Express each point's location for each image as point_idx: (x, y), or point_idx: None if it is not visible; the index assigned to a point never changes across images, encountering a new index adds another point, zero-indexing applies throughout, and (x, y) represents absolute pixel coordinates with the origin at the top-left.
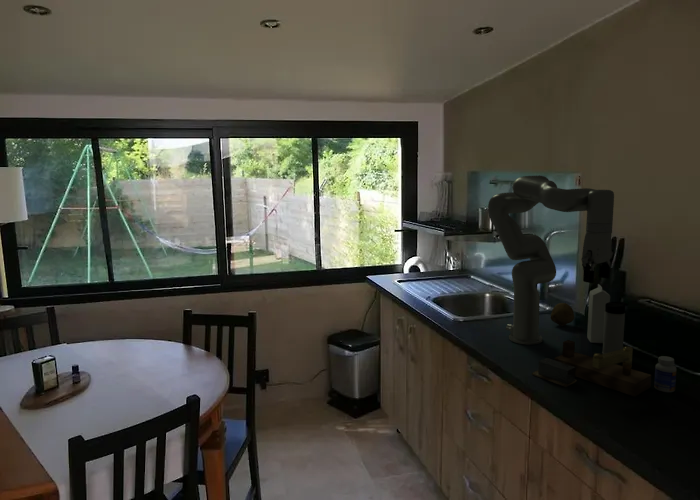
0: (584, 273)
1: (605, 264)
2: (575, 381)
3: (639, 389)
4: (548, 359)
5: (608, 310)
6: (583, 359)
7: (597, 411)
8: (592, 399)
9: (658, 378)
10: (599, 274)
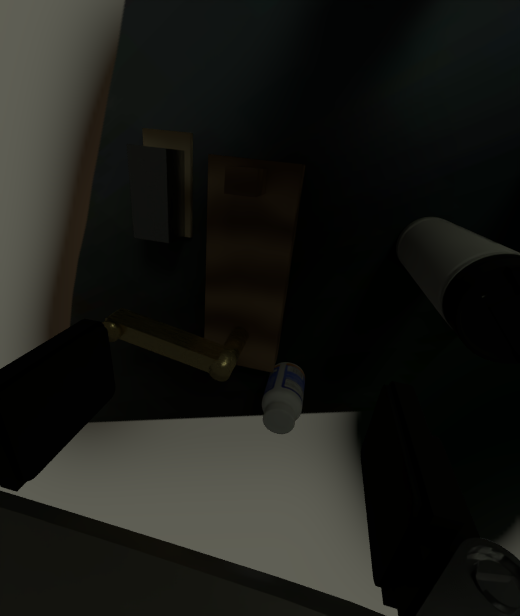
0: (17, 370)
1: (411, 611)
2: (187, 236)
3: None
4: (158, 160)
5: (457, 284)
6: (257, 226)
7: (114, 311)
8: (145, 291)
9: (267, 383)
10: (388, 402)
